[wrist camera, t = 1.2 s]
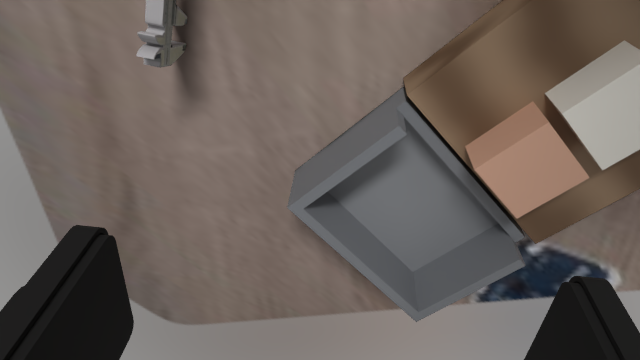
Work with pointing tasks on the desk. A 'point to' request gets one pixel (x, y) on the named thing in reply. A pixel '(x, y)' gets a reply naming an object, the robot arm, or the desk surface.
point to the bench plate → (528, 89)
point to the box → (406, 210)
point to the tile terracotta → (525, 161)
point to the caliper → (161, 33)
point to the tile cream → (604, 104)
